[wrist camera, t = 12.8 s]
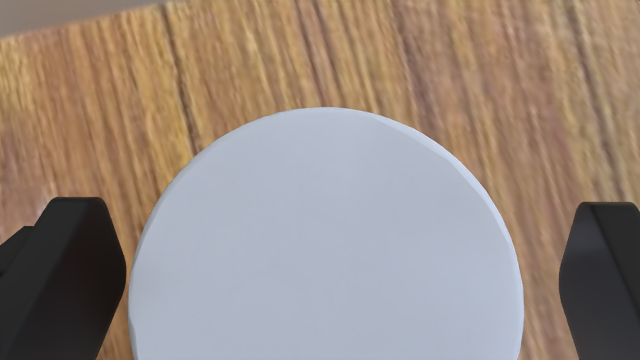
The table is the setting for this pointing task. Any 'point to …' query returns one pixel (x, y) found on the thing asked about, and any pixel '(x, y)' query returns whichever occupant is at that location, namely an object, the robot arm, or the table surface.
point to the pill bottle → (325, 250)
